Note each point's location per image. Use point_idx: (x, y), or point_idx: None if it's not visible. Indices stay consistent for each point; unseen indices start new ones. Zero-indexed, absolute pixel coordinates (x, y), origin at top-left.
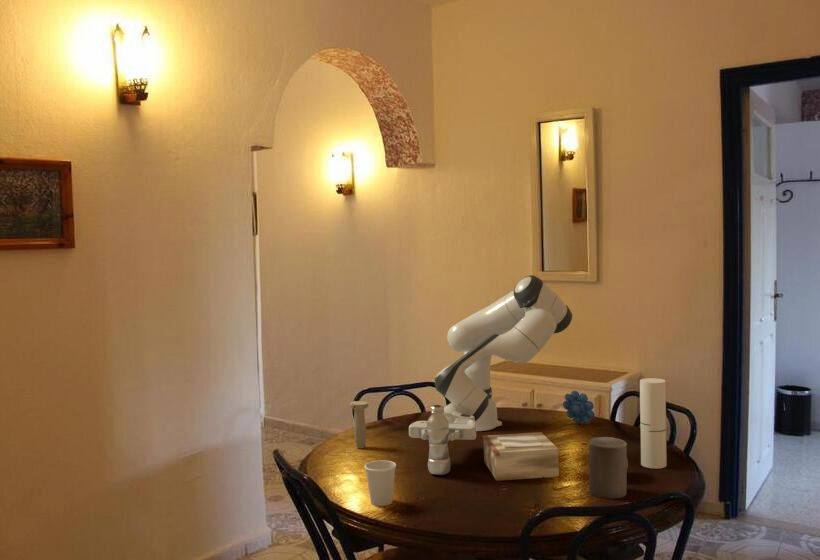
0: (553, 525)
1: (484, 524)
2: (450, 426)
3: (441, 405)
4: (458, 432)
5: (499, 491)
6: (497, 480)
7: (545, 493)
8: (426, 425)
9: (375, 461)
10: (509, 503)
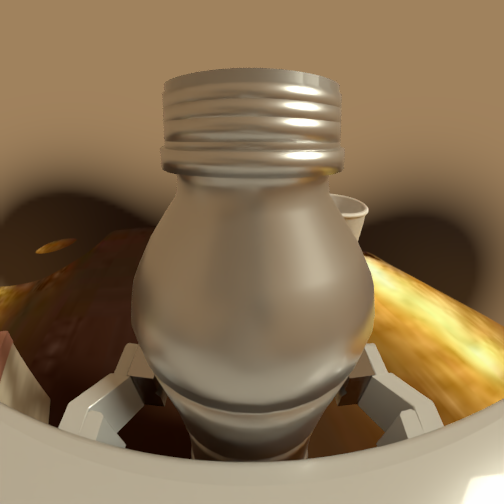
0: (59, 247)
1: (137, 242)
2: (128, 482)
3: (197, 78)
4: (76, 403)
5: (69, 335)
6: (48, 399)
7: (3, 322)
8: (447, 466)
9: (360, 212)
10: (76, 289)
